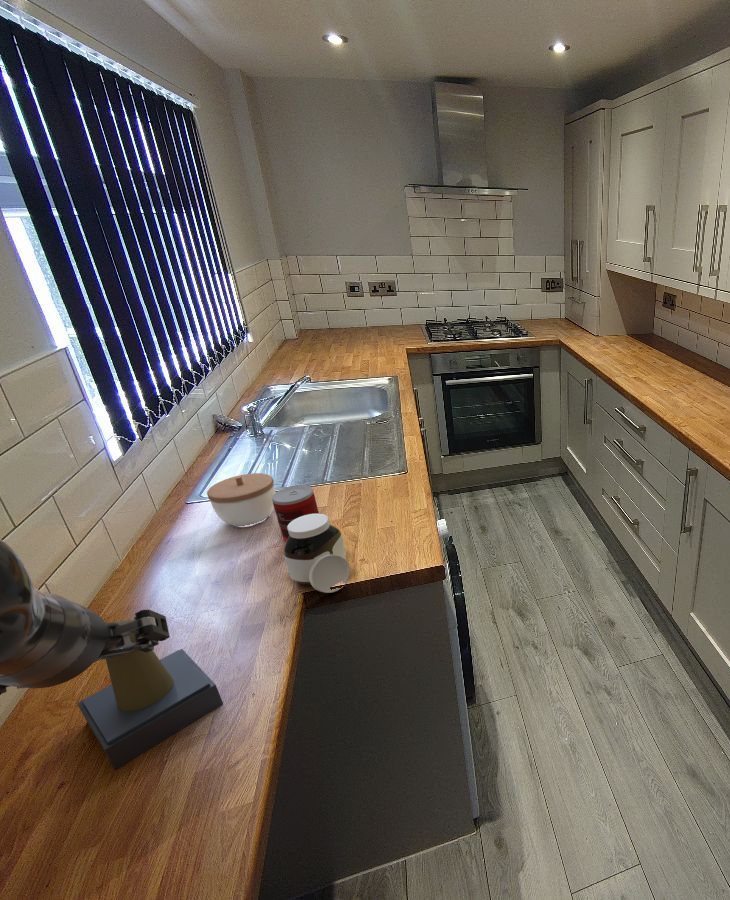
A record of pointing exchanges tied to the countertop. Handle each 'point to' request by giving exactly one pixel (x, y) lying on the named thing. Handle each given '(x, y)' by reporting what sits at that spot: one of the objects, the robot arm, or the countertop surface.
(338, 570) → the spread jar
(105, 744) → the rectangular box
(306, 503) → the canned food
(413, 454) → the countertop surface
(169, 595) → the countertop surface
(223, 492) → the lidded bowl
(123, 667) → the cork
